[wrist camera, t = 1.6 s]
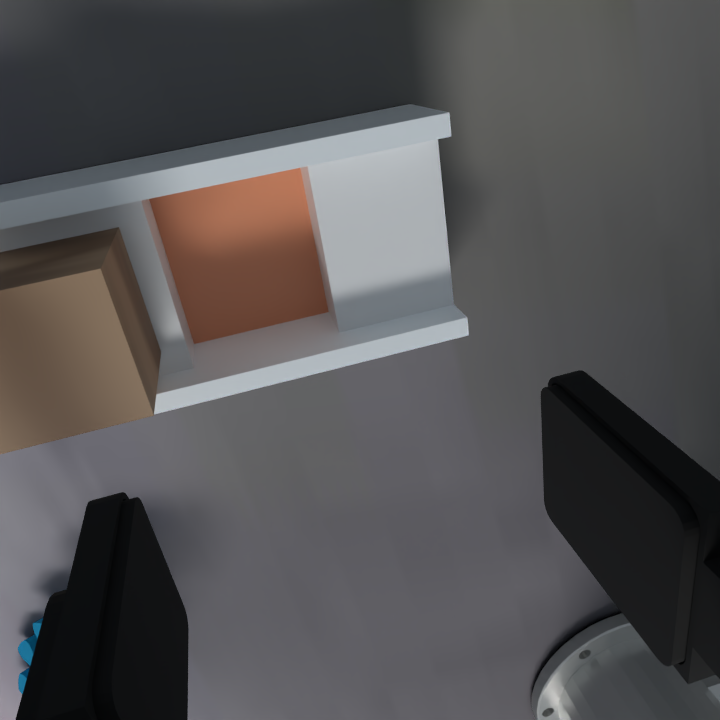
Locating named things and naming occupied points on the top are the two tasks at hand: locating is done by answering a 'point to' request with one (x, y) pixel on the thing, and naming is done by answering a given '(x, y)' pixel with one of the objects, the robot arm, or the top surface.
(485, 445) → the top surface
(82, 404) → the block
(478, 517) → the top surface
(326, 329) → the trough
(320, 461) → the top surface
